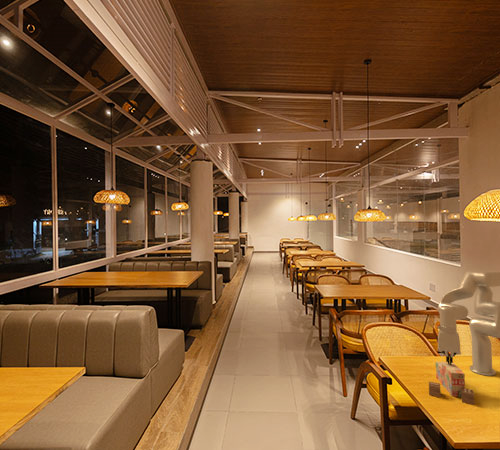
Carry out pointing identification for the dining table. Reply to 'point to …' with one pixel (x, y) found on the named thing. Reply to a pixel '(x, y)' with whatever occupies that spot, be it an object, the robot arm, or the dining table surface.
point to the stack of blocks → (450, 377)
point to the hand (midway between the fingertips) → (449, 363)
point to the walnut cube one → (434, 389)
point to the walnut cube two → (467, 396)
